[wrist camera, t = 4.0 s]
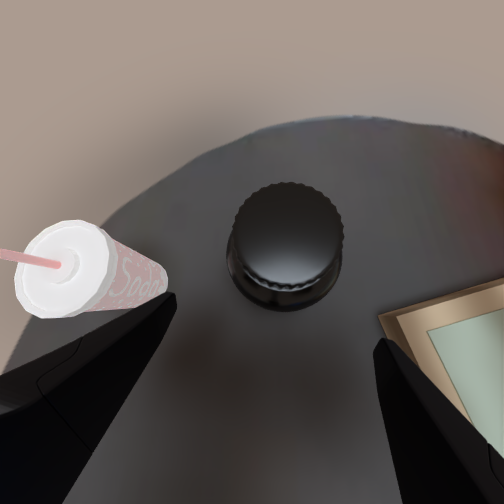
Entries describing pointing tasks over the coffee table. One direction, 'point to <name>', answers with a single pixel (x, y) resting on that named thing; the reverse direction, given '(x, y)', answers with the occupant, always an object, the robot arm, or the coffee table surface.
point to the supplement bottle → (285, 247)
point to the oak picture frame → (460, 351)
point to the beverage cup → (82, 272)
